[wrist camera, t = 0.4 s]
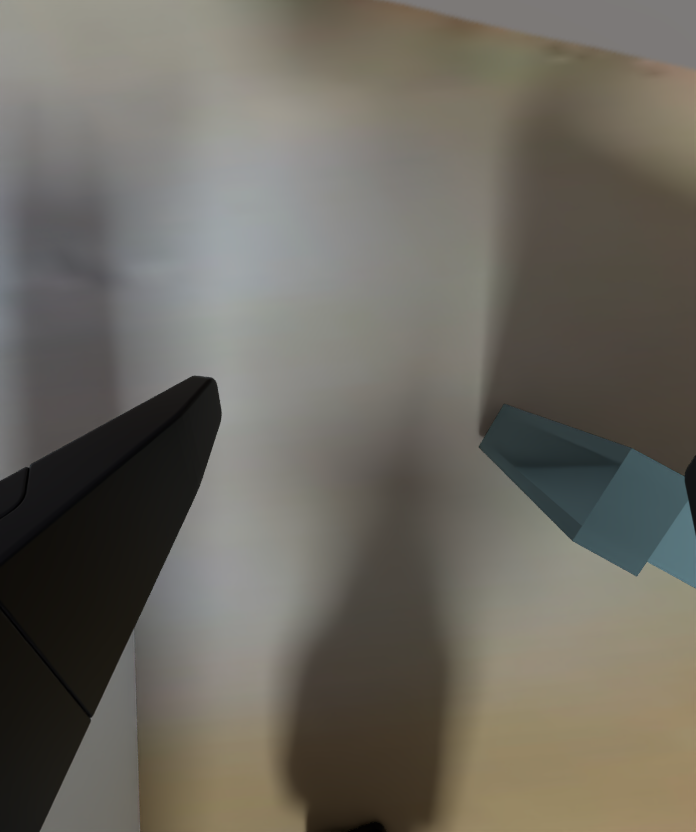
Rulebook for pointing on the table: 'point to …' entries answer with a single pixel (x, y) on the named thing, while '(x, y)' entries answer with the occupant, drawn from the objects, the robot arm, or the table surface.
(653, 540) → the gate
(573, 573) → the table surface
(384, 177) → the table surface
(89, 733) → the block
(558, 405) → the table surface
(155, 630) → the table surface
